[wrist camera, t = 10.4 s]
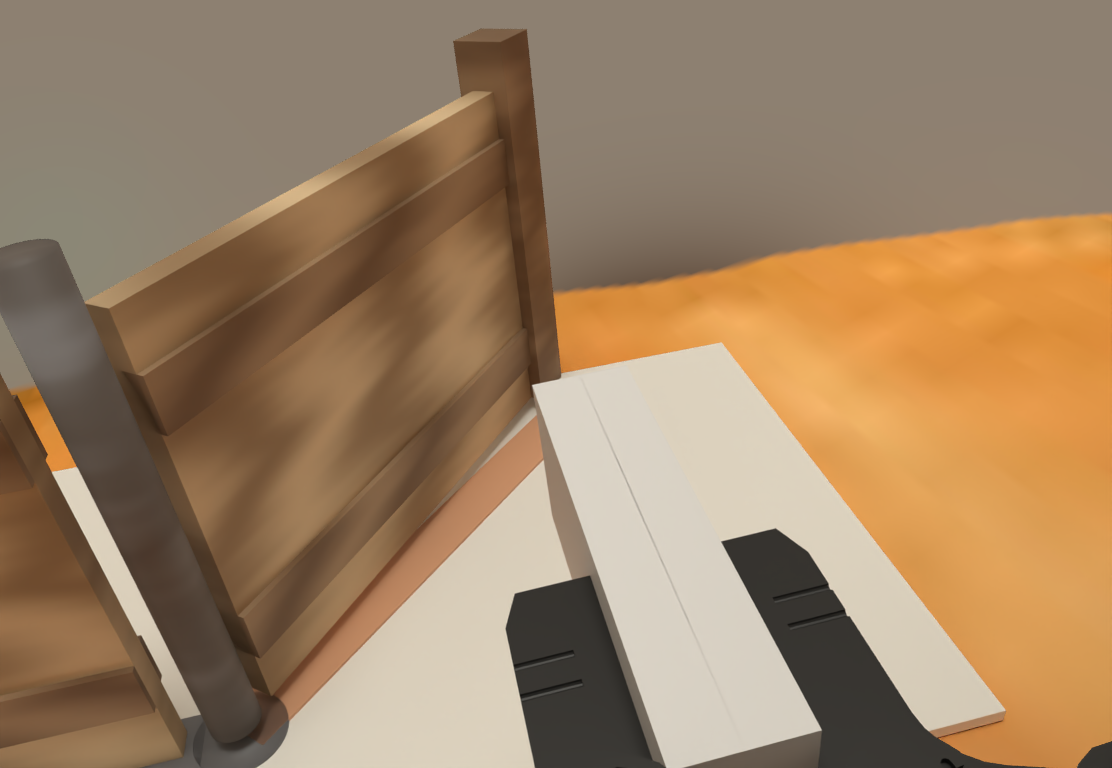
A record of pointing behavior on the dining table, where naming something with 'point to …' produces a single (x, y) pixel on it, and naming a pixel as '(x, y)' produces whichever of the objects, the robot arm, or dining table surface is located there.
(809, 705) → the robot arm
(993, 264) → the dining table surface
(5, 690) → the fixed fence section
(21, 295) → the hinged fence section
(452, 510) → the card
